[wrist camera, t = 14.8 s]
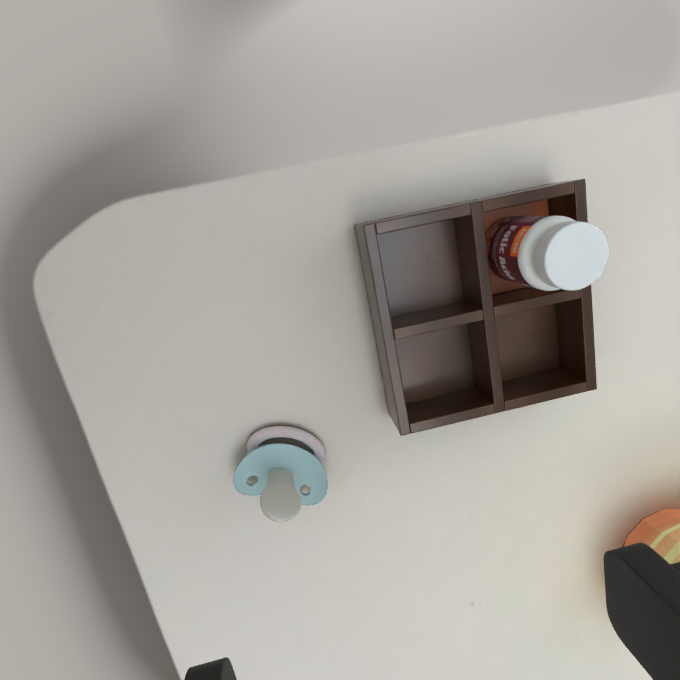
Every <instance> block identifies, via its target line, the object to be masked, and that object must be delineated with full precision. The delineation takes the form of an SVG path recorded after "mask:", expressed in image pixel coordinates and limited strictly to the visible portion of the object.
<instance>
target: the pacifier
mask: <svg viewBox="0 0 680 680" xmlns="http://www.w3.org/2000/svg"><path fill="white" fill-rule="evenodd" d="M274 437H288V438H293V439H296V440H299V441H301V442H303V443H305V444H306V445H308V446H309V447H310V448H311V449H312V450H313V451H314V455H313V454H311V453H310V452H308V451H307V450H305V449H303V448H300V447H298V446H295V445H291V444H284V443H274V444H267V445H263V446H260V447H258V445H259V444H260V443H262V442H263V441H265V440H267V439H270V438H274ZM257 447H258V448H257ZM246 450H247V453H248V454H247V455H246V456H245V457H244V458H243V459H242V460H241V461H240V463H239V464H238V466H237V468H236V470H235V473H234V479H233V482H234V486H235V488H236V490H237V491H238V492H240V493H242V494H244V495H251V496H255V495H261V497H260V504H261V508H262V511H263V512H264V514H265V515H266V516H267V517H268V518H269V519H271V520H272V521H275V522H286V521H289V520H291V519H292V518H294V517H295V516H296V515H297V513H298V512H299V510H300V507H301V505H314V504H317V503H319V502H320V501H322V499H323V498H324V497H325V495H326V492H327V488H328V482H327V477H326V473H325V470H324V468H323V466H322V464H323V462H324V461H325V456H326V452H325V449H324V446H323V445H322V443H321V442H320V441H319V440H318V439H317V438H316V437H314V436H313V435H312V434H310V433H308V432H306V431H304V430H301V429H298V428H295V427H289V426H272V427H267V428H263V429H261V430H259V431H257V432H255V433H254V434H253V435H252V436H251V437H250V438H249V440H248V442H247V448H246ZM251 476H256V477H257V478H258V480H257V481H256V482H255V483H253V484H249V483H248V482H247V479H248V478H249V477H251ZM302 485H307V486H308V487H309V488H310V492H309V493H307V494H305V493H302V492H301V491H300V487H301V486H302Z"/></svg>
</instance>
